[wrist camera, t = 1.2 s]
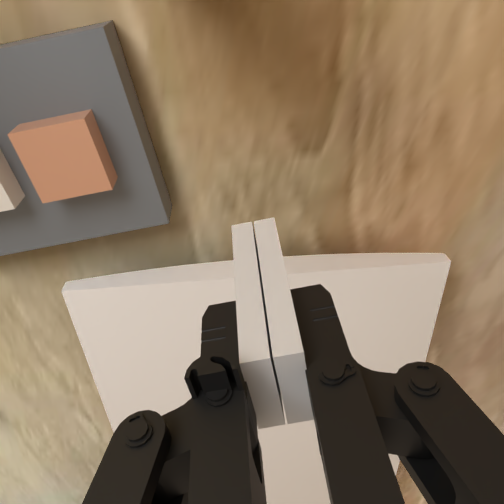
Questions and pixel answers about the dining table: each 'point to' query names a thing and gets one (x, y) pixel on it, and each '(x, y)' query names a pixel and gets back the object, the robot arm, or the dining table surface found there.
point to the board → (223, 290)
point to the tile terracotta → (64, 156)
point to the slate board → (110, 125)
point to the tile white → (8, 187)
